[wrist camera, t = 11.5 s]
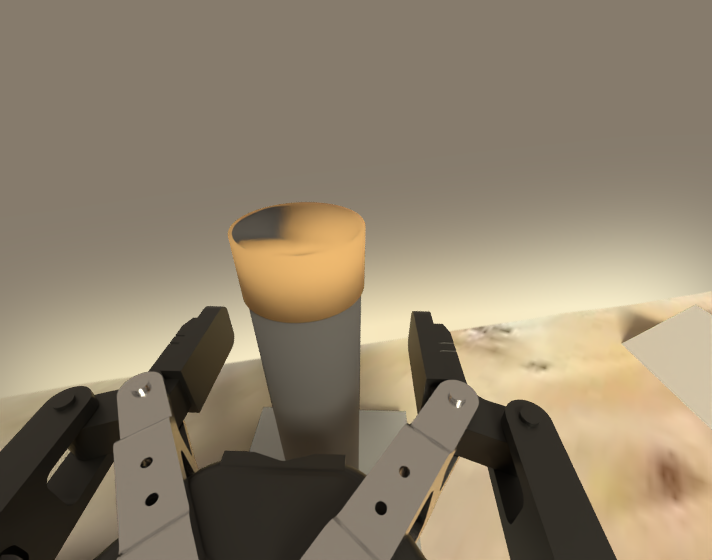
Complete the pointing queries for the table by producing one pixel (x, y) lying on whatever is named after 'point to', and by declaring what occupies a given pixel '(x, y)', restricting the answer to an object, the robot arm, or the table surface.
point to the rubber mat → (373, 436)
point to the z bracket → (681, 358)
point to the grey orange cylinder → (306, 319)
